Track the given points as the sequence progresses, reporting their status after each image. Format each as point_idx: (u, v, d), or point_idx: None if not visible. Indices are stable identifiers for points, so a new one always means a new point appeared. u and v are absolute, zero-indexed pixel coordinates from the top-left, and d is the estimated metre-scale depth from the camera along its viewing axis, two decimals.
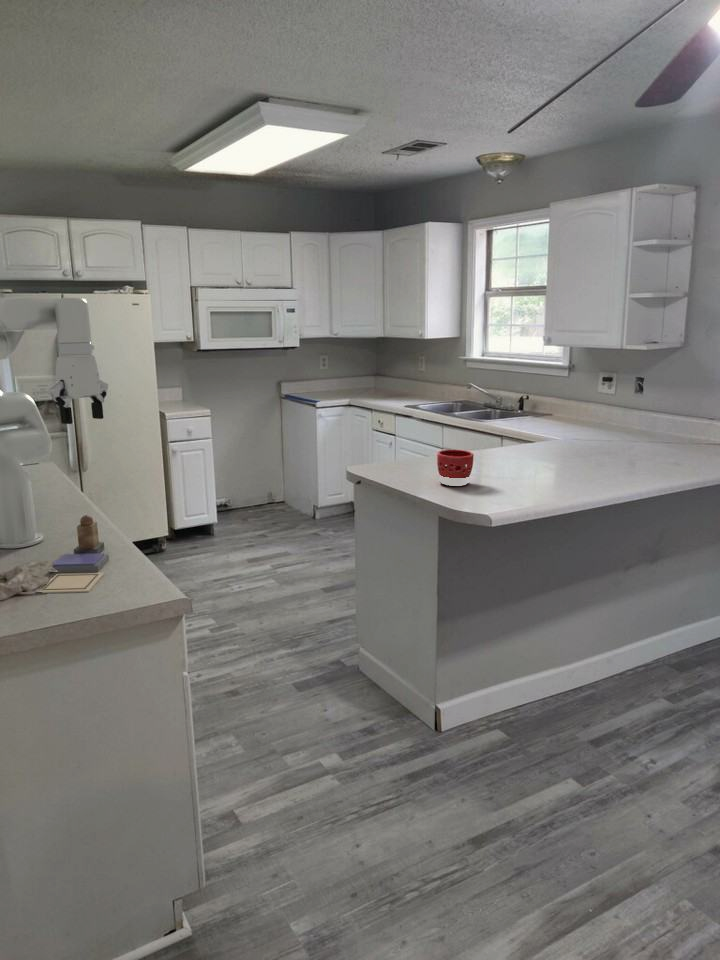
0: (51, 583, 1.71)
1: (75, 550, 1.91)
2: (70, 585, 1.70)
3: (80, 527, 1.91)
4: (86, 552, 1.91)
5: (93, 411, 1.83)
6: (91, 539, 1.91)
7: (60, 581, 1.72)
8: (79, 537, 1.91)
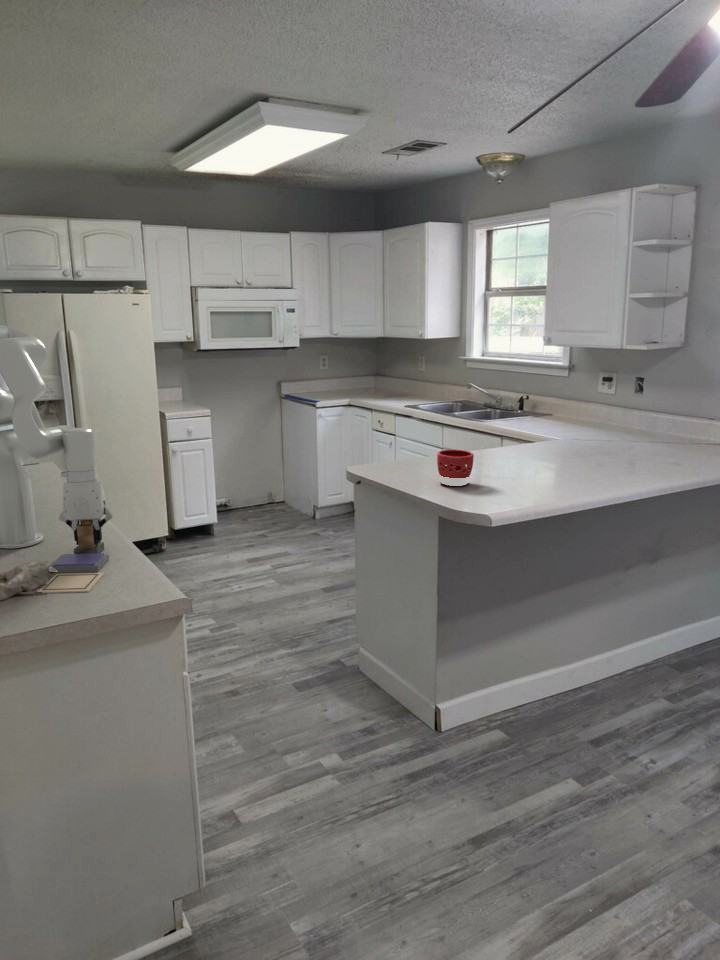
0: (51, 583, 1.71)
1: (75, 550, 1.91)
2: (70, 585, 1.70)
3: (80, 527, 1.91)
4: (86, 551, 1.91)
5: None
6: (91, 539, 1.91)
7: (60, 581, 1.72)
8: (79, 537, 1.91)
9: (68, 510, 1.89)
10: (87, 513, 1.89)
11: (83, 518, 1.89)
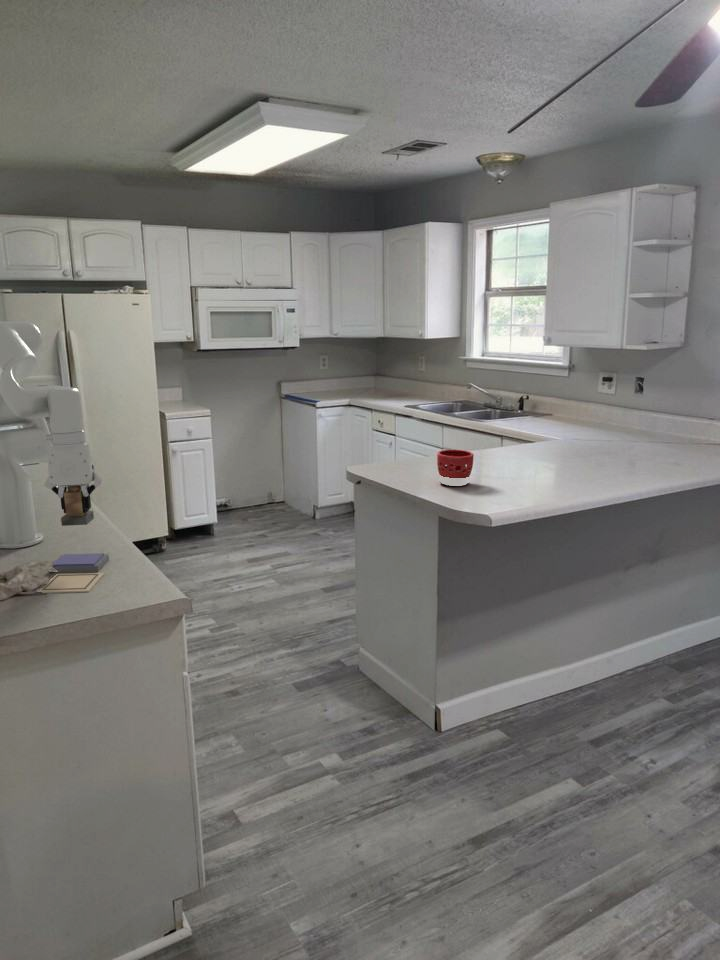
0: (51, 583, 1.71)
1: (62, 518, 1.79)
2: (70, 585, 1.70)
3: (67, 493, 1.78)
4: (74, 520, 1.79)
5: None
6: (79, 506, 1.79)
7: (60, 581, 1.72)
8: (66, 504, 1.79)
9: (54, 475, 1.77)
10: (75, 478, 1.77)
11: (70, 484, 1.77)
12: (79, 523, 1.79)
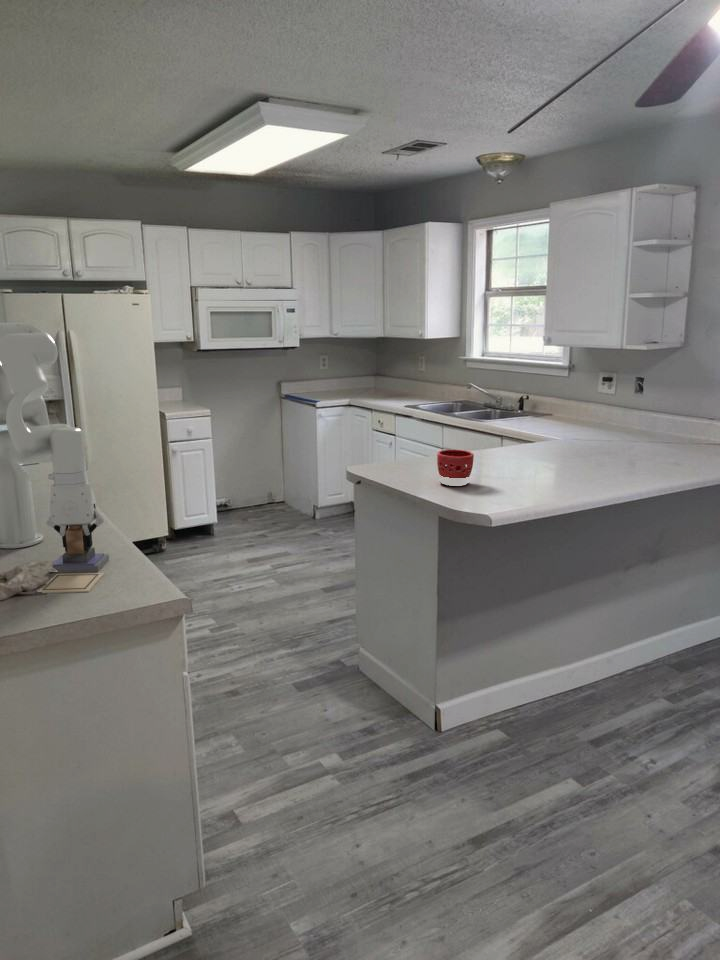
0: (51, 583, 1.71)
1: (63, 556, 1.80)
2: (70, 585, 1.70)
3: (68, 531, 1.79)
4: (75, 558, 1.80)
5: None
6: (80, 544, 1.80)
7: (60, 581, 1.72)
8: (68, 542, 1.80)
9: (56, 514, 1.78)
10: (76, 518, 1.78)
11: (72, 523, 1.78)
12: (80, 561, 1.80)
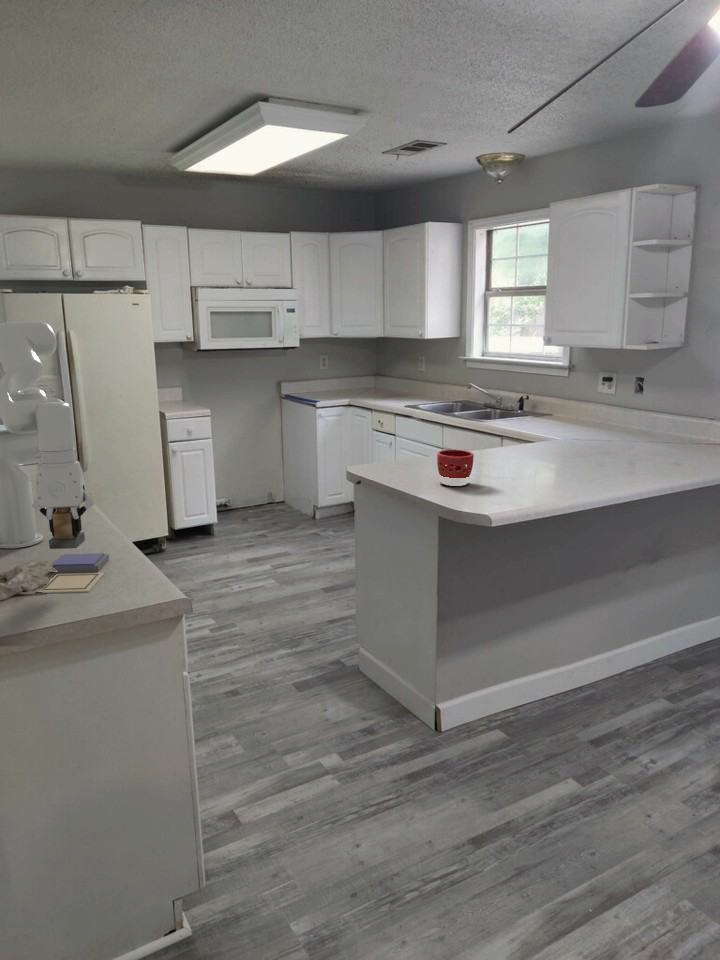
0: (51, 583, 1.71)
1: (50, 541, 1.66)
2: (70, 585, 1.70)
3: (55, 514, 1.66)
4: (63, 543, 1.67)
5: None
6: (68, 528, 1.67)
7: (60, 581, 1.72)
8: (55, 526, 1.67)
9: (42, 496, 1.64)
10: (64, 500, 1.65)
11: (59, 505, 1.65)
12: (68, 546, 1.67)
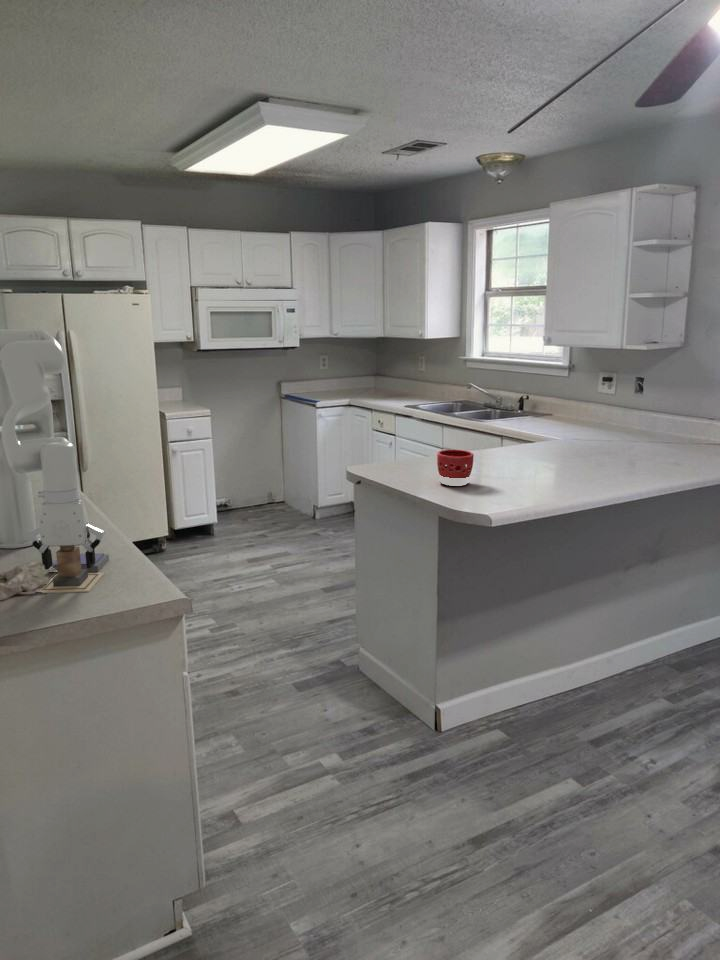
0: (51, 583, 1.71)
1: (54, 579, 1.69)
2: None
3: (59, 553, 1.68)
4: (67, 581, 1.69)
5: (48, 561, 1.70)
6: (72, 566, 1.69)
7: None
8: (59, 564, 1.69)
9: (46, 535, 1.66)
10: (68, 538, 1.67)
11: (63, 544, 1.67)
12: (72, 584, 1.69)
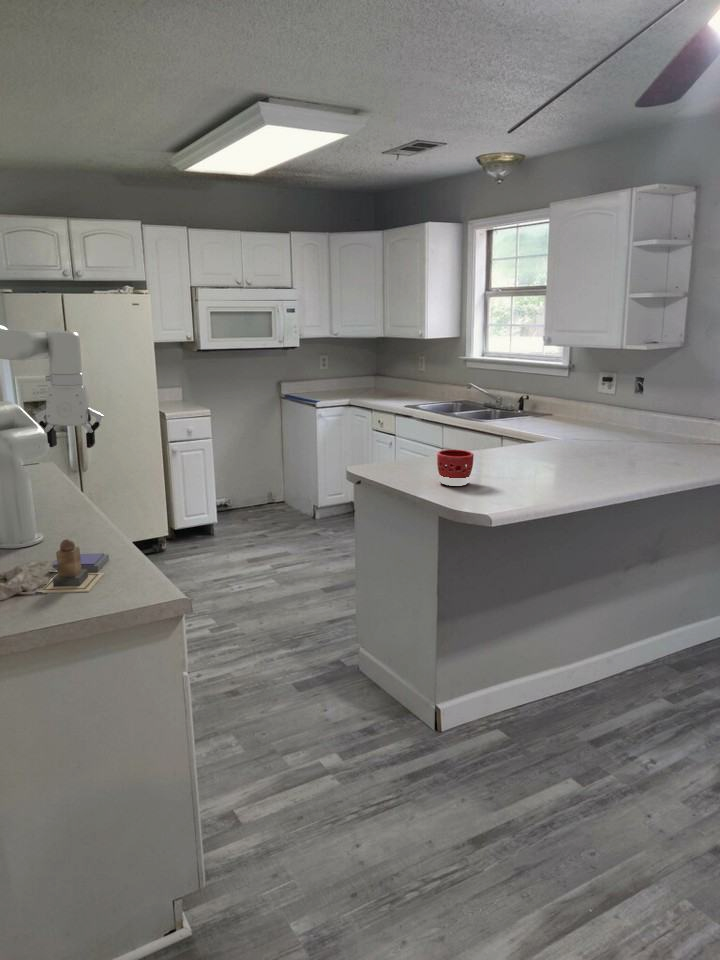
0: (51, 583, 1.71)
1: (54, 579, 1.69)
2: None
3: (59, 553, 1.68)
4: (67, 581, 1.69)
5: (52, 440, 1.88)
6: (72, 566, 1.69)
7: None
8: (59, 564, 1.69)
9: (51, 415, 1.85)
10: (70, 418, 1.85)
11: (66, 423, 1.86)
12: (72, 584, 1.69)
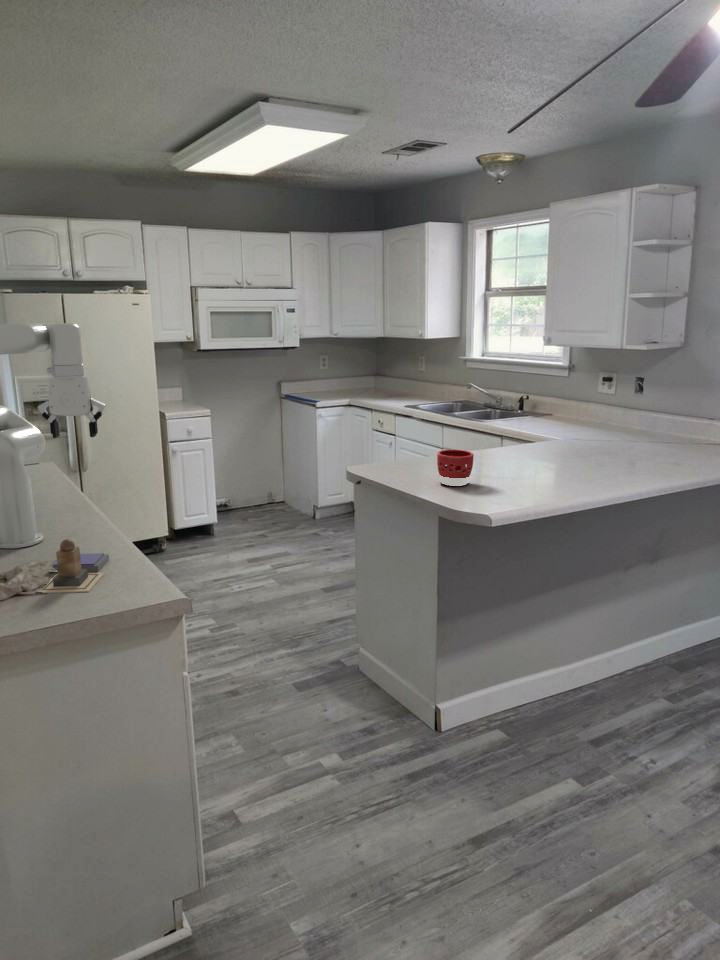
0: (51, 583, 1.71)
1: (54, 579, 1.69)
2: None
3: (59, 553, 1.68)
4: (67, 581, 1.69)
5: (55, 430, 1.92)
6: (72, 566, 1.69)
7: None
8: (59, 564, 1.69)
9: (54, 405, 1.89)
10: (73, 409, 1.89)
11: (69, 414, 1.89)
12: (72, 584, 1.69)
